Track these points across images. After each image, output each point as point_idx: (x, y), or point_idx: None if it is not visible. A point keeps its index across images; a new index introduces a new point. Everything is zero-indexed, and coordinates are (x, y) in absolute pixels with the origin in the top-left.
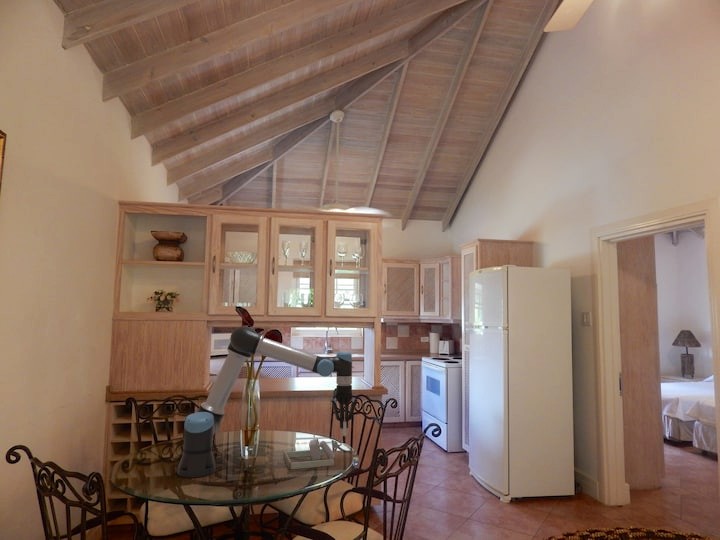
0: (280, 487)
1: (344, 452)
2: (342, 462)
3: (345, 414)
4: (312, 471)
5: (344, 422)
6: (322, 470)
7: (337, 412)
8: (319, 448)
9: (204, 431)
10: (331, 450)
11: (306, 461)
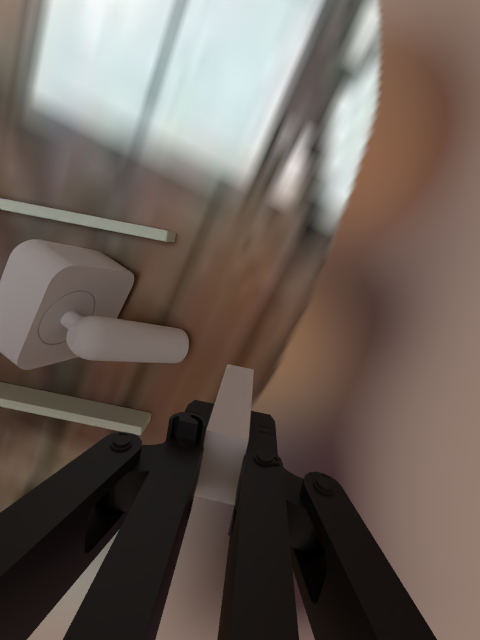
0: None
1: (294, 253)
2: (205, 401)
3: (230, 561)
4: (39, 443)
5: (210, 494)
6: (82, 451)
7: (21, 622)
8: (98, 291)
9: None
10: (156, 355)
11: (5, 400)
